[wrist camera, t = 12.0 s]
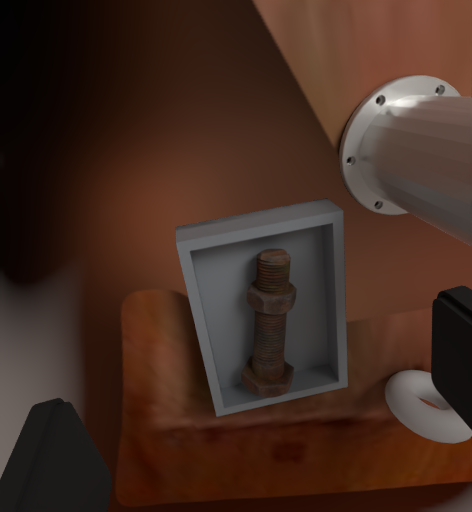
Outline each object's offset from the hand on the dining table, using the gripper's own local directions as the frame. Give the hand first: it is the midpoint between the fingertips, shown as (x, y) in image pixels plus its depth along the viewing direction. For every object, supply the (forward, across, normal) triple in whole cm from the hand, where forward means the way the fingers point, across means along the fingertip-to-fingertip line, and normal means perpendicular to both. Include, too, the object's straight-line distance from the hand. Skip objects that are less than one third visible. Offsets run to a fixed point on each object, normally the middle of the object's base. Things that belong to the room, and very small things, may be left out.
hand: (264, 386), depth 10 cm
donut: (+27, -19, +32) cm, 46 cm away
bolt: (+26, -3, +16) cm, 31 cm away
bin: (+27, -3, +16) cm, 32 cm away
